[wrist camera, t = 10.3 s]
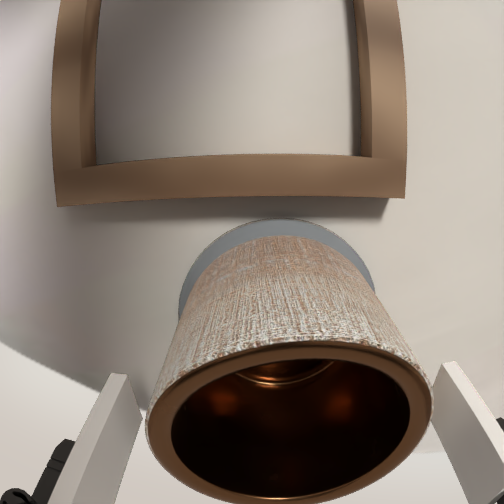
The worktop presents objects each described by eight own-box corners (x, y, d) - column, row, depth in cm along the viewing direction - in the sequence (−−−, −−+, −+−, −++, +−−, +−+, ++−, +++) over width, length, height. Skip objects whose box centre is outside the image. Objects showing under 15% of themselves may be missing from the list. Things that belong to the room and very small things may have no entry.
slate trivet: (171, 220, 18) (168, 223, 17) (382, 218, 17) (387, 221, 17) (192, 384, 22) (191, 392, 21) (357, 380, 21) (360, 387, 21)
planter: (161, 258, 17) (84, 366, 8) (354, 209, 16) (450, 285, 7) (220, 398, 21) (206, 516, 12) (373, 364, 20) (421, 476, 11)
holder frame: (87, -55, 11) (77, -65, 9) (368, -73, 11) (376, -86, 9) (72, 200, 17) (57, 206, 16) (391, 193, 17) (404, 198, 15)
